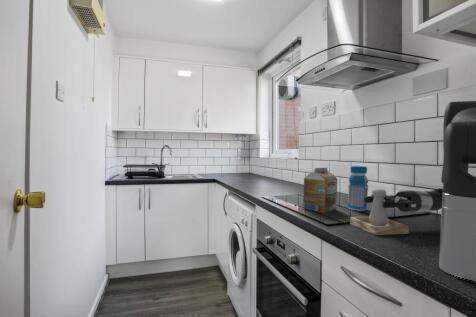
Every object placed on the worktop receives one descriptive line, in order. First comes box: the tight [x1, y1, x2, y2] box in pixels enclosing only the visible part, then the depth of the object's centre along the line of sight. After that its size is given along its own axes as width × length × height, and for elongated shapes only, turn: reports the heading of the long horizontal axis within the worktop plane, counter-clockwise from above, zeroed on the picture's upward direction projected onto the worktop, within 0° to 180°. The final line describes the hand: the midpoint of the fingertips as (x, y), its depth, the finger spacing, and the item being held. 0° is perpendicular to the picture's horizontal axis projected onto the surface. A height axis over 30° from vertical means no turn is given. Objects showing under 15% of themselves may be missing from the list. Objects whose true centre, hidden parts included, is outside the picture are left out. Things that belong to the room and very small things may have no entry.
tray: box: [349, 216, 410, 236], centre depth 88 cm, size 13×13×2 cm
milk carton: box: [302, 167, 338, 214], centre depth 117 cm, size 10×11×19 cm
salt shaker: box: [368, 188, 389, 226], centre depth 88 cm, size 6×6×13 cm
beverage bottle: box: [347, 165, 369, 212], centre depth 118 cm, size 8×8×20 cm
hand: (373, 201), depth 88 cm, fingers open, 8 cm apart
